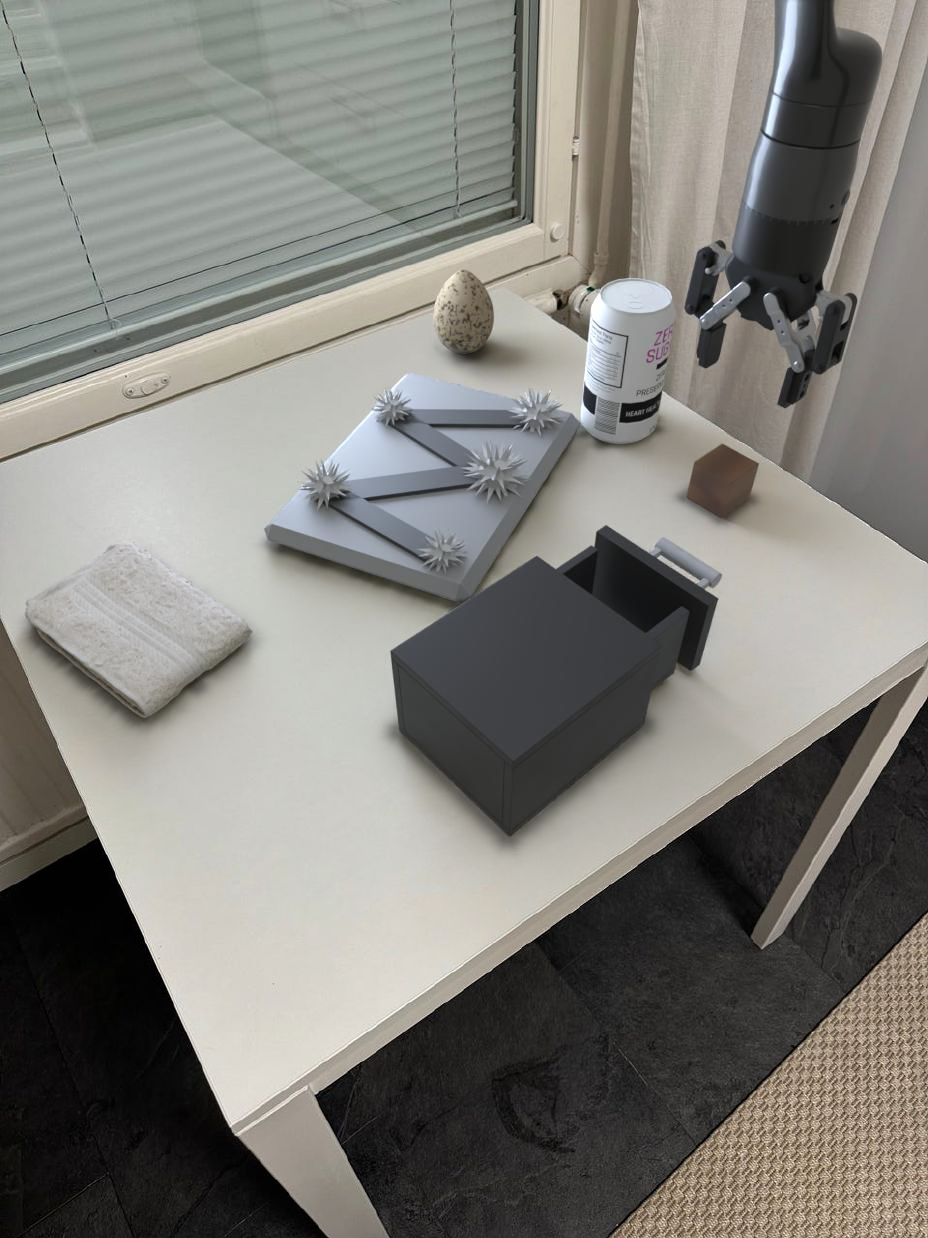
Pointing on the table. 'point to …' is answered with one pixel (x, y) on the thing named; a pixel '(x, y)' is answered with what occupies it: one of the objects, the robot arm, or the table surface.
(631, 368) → the supplement can
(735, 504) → the block
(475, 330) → the decorative egg
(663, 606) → the drawer
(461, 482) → the grey zigzag star board
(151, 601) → the washcloth
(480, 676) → the cabinet
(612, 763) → the table surface
